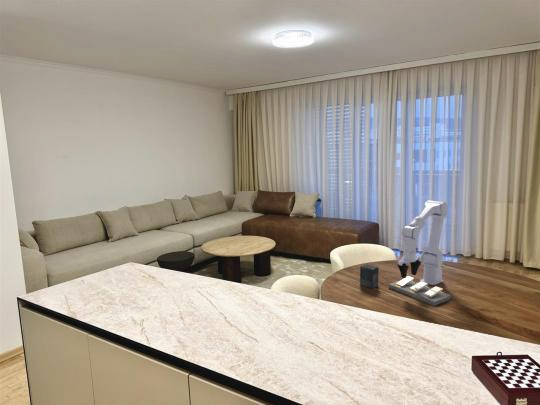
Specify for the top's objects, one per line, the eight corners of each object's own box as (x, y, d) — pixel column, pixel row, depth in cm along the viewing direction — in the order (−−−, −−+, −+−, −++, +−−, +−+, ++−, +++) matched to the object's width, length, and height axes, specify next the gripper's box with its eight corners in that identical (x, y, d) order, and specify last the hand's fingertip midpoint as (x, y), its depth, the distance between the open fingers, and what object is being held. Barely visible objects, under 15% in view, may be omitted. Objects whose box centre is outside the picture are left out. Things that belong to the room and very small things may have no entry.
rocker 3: (435, 287, 175) (435, 286, 175) (442, 290, 172) (442, 288, 172) (424, 294, 171) (424, 293, 170) (431, 297, 168) (431, 295, 167)
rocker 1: (407, 277, 188) (407, 275, 188) (413, 279, 185) (413, 278, 185) (396, 284, 184) (396, 283, 184) (402, 286, 181) (402, 285, 181)
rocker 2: (421, 282, 182) (421, 281, 181) (427, 284, 179) (427, 283, 178) (409, 289, 177) (409, 287, 177) (416, 291, 174) (416, 290, 174)
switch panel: (405, 282, 193) (405, 278, 192) (450, 299, 171) (451, 294, 170) (388, 287, 186) (388, 283, 186) (434, 305, 164) (434, 301, 164)
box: (378, 286, 188) (379, 266, 187) (372, 289, 185) (372, 269, 183) (365, 282, 194) (366, 263, 193) (359, 284, 191) (359, 265, 189)
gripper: (412, 245, 184) (411, 271, 186) (393, 250, 176) (392, 276, 179) (424, 249, 178) (423, 275, 180) (405, 254, 170) (404, 281, 173)
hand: (408, 276), depth 179 cm, fingers open, 7 cm apart
